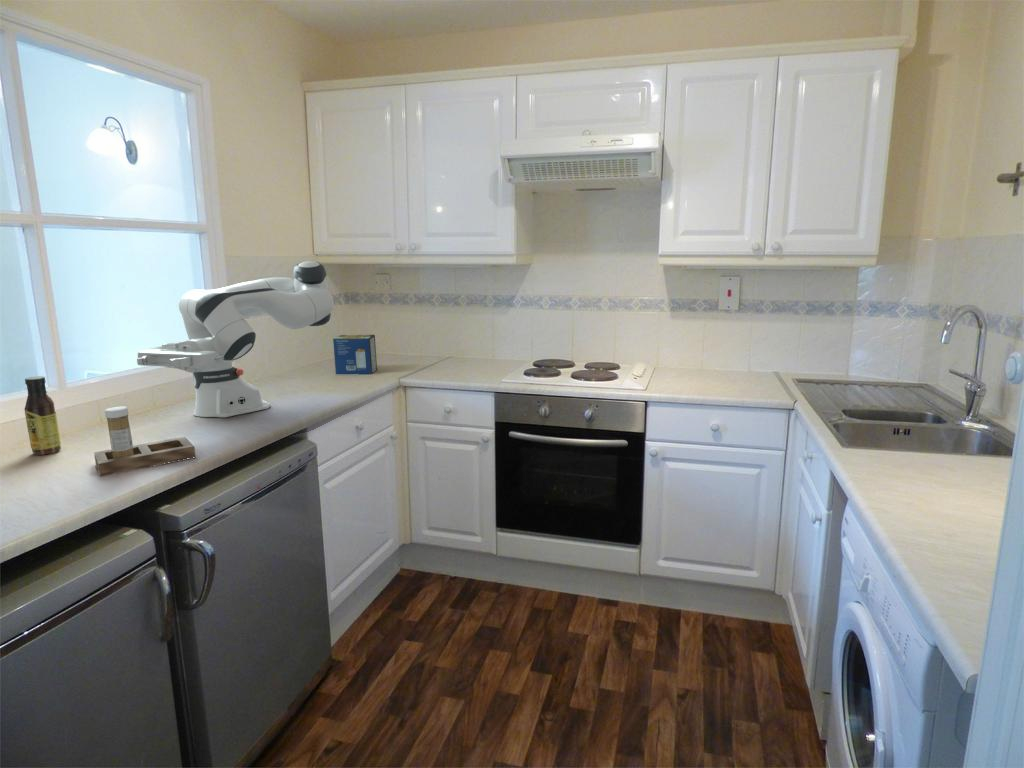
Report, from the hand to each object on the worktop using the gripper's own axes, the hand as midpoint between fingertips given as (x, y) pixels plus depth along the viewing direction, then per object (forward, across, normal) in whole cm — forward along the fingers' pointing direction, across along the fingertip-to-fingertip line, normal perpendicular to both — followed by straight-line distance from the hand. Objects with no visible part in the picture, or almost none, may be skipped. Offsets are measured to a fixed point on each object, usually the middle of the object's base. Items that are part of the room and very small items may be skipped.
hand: (155, 362), depth 156 cm
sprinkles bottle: (+11, +2, -23) cm, 25 cm away
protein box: (-110, -2, -19) cm, 112 cm away
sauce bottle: (+5, +31, -24) cm, 39 cm away
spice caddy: (+7, -1, -23) cm, 25 cm away
